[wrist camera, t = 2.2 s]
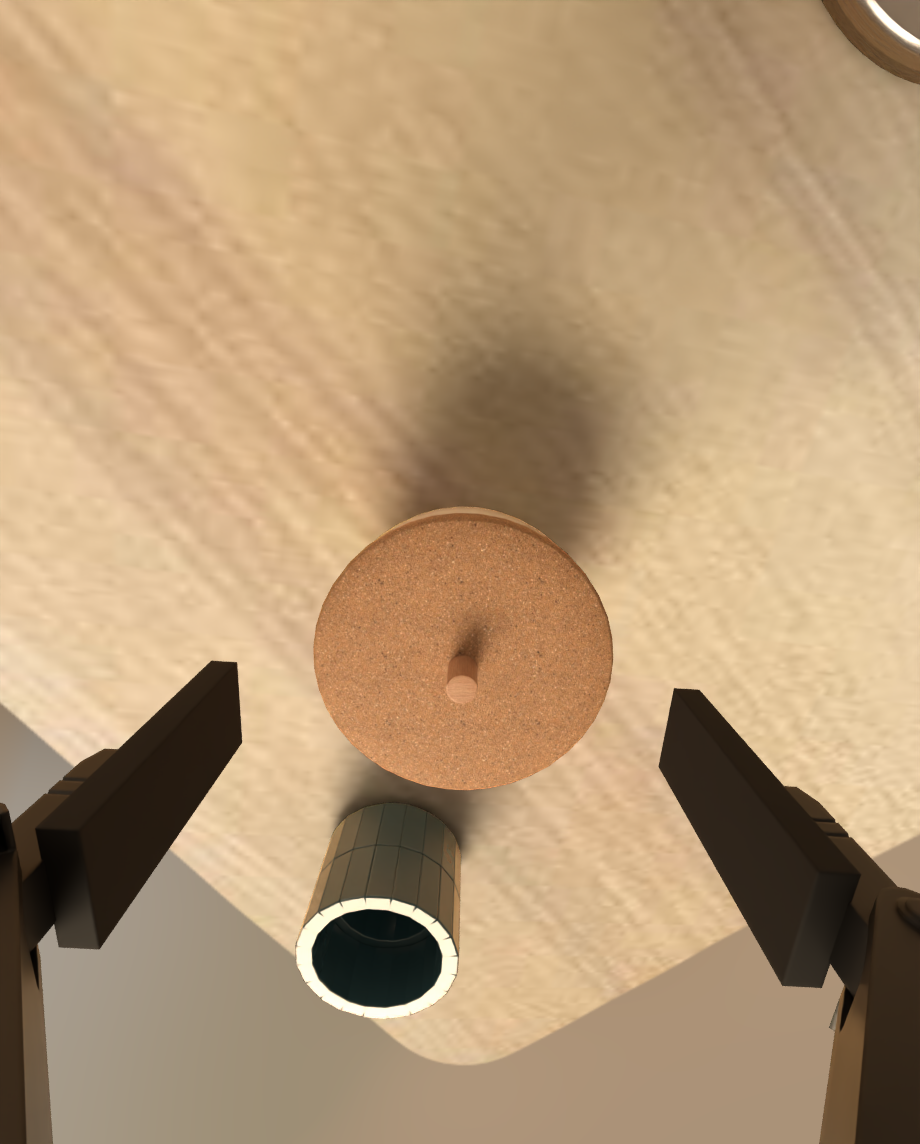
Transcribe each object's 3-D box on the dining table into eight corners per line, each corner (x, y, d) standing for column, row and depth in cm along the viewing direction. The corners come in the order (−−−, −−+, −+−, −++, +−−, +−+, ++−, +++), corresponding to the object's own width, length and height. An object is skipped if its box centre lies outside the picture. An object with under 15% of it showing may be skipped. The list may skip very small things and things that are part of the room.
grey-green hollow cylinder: (464, 799, 29) (463, 902, 23) (456, 903, 32) (453, 1023, 25) (330, 791, 29) (292, 891, 23) (331, 895, 31) (297, 1013, 25)
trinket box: (570, 688, 27) (620, 821, 18) (367, 693, 28) (317, 828, 19) (575, 482, 24) (637, 521, 15) (346, 491, 24) (275, 534, 15)
